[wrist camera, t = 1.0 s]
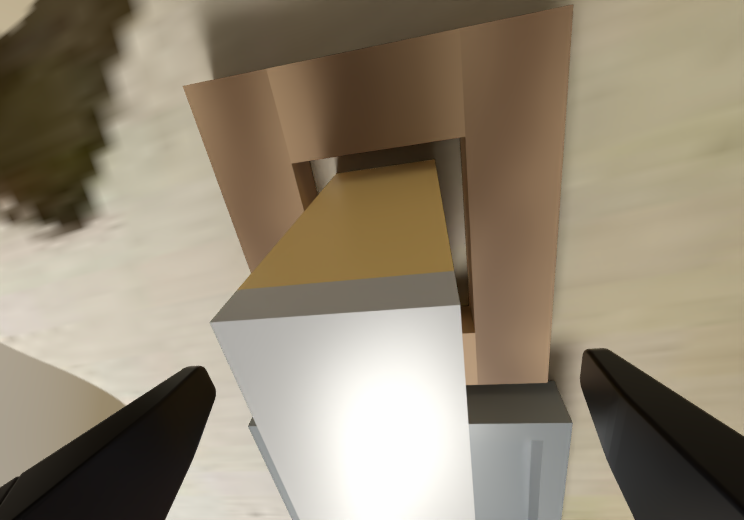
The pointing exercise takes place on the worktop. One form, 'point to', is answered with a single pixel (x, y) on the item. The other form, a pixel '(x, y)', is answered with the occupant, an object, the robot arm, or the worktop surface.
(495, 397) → the parts tray
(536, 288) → the brown wooden frame
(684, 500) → the robot arm
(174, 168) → the worktop surface
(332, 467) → the tan rectangular block
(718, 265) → the worktop surface
